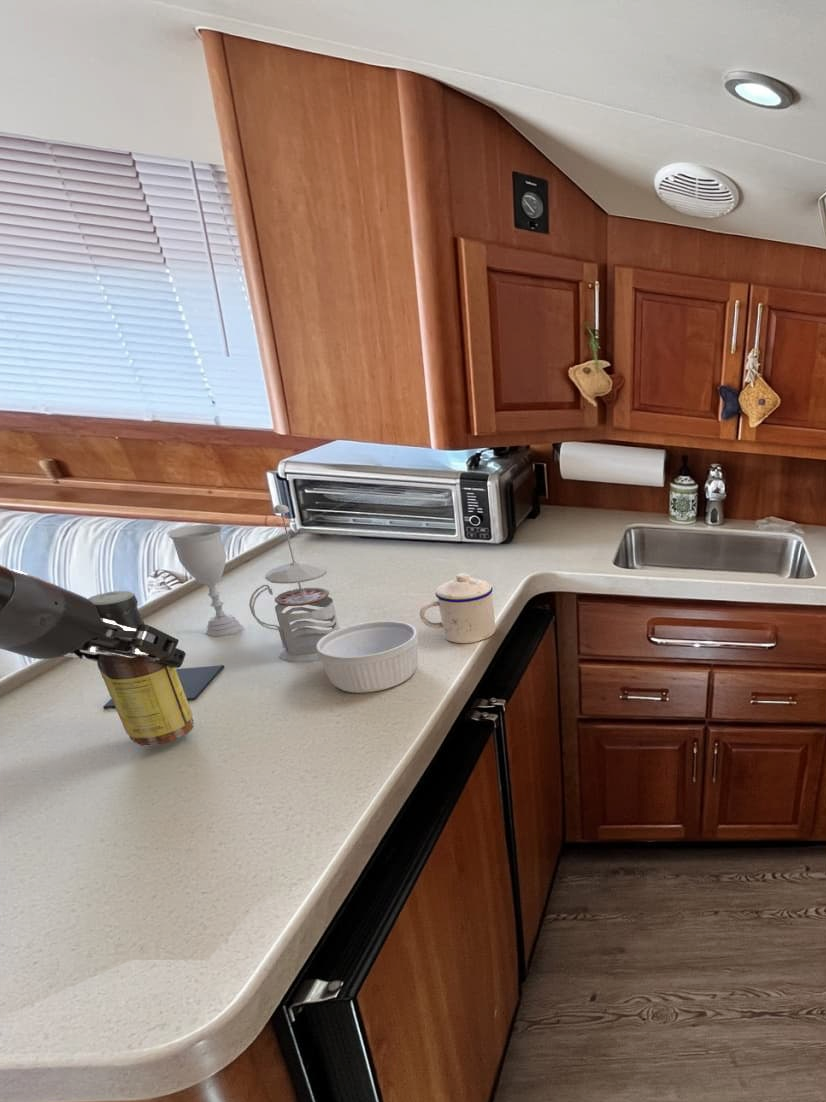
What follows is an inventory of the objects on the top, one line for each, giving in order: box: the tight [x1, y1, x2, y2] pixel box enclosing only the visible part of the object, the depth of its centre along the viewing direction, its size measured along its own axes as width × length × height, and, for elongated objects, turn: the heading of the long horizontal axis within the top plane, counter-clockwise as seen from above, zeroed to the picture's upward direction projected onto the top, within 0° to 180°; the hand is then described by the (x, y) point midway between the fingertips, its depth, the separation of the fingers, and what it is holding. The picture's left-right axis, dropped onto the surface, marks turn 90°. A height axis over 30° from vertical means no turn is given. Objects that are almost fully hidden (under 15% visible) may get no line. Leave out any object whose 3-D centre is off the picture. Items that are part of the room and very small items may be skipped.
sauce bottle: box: [88, 590, 195, 747], centre depth 79 cm, size 7×6×20 cm
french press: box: [249, 504, 340, 663], centre depth 102 cm, size 10×12×25 cm
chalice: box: [166, 524, 244, 637], centre depth 107 cm, size 7×7×18 cm
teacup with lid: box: [418, 572, 497, 644], centre depth 114 cm, size 12×9×12 cm
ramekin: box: [316, 620, 419, 694], centre depth 100 cm, size 13×13×7 cm
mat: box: [102, 664, 225, 710], centre depth 94 cm, size 10×10×1 cm
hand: (149, 659), depth 80 cm, fingers closed on sauce bottle, 6 cm apart
